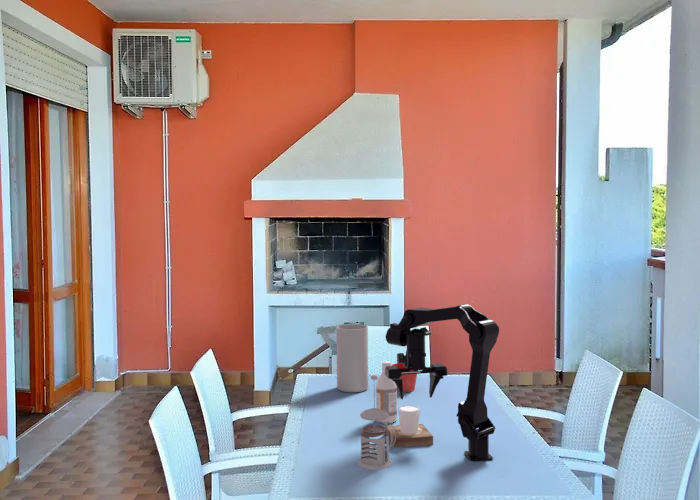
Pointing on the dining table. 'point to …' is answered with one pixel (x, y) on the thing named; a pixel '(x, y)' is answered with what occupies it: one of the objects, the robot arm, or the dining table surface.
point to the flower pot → (407, 379)
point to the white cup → (409, 419)
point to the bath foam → (386, 395)
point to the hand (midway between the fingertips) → (416, 398)
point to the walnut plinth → (410, 437)
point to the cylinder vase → (352, 357)
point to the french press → (381, 455)
